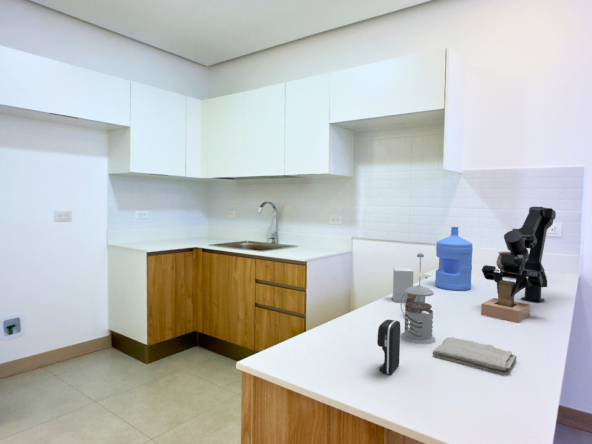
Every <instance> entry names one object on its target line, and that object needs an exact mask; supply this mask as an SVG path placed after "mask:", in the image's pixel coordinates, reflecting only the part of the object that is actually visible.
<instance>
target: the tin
mask: <svg viewBox="0 0 592 444" xmlns="http://www.w3.org/2000/svg"><path fill="white" fill-rule="evenodd" d="M408 297H411V294H409V295H408ZM408 297H407V300H406V303H405V305H406V304H407V303H408V302H419V296H416V295H412V297H411V298H408ZM420 302H421V303H423V302H424V303H426V296H420ZM407 307H408V306H407V305H406V308H407ZM408 312H410V308H408ZM420 313H423V311H420V312H418V314H420Z"/></svg>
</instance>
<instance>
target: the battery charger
mask: <svg viewBox="0 0 592 444" xmlns="http://www.w3.org/2000/svg"><path fill="white" fill-rule="evenodd" d="M377 329H378V330H377V341H376V342H377V343H376V344H377V346H378V347H381V349H382V351H383V353H384V355H383V356H384V359H383V361H384V362H383V364H382V365H381V366H380V367H379V371H380V372H382V373H384V374H387V375H392V374H393V373H394V372H395V371H396V369H397V368H398V366H399V365H400V349H401V348H400V347H401V345H400V344H401V322H400V320H396V319H385V320H384V321H383V322H381V323H380V325H379V326H378V328H377Z"/></svg>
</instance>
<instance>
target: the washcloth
mask: <svg viewBox="0 0 592 444" xmlns="http://www.w3.org/2000/svg"><path fill="white" fill-rule="evenodd" d="M432 357H434V358H438V359H440V360H445V361H449V362H452V363H456V364H460V365H464V366H468V367H471V368H475V369H479V370H483V371H486V372H491V373H494V374H497V375H501V376H507V374H509V373H510V372H511V371H512V368H513V366H514V365H515V363H516V360H517V357H518V356H517V355H515V354H513V352H512V351H509V350H503V349H501V348H499V347H498V348H497V347H495V346H494V345H493V344H486V343H485V344H484V343H479V342H476V341H472V340H468V339H460V338H457V337H453V336H452V337H451V336H450V337H446V338H445V339H444V340H443V341H442V343H441V344H440V345H438V346H437V347H435V348H434V350H433V351H432Z"/></svg>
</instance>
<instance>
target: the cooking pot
mask: <svg viewBox="0 0 592 444" xmlns="http://www.w3.org/2000/svg"><path fill="white" fill-rule="evenodd" d="M529 253H530V252H528V258H529ZM502 254H506V255H509V254H510V251H499V252H498V256H497V258H496V267H497V269H500V270H502V271H504V269H502V264H501V263H500V261H501V256H502ZM528 258H527V259H526V261H527V260H528Z"/></svg>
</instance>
